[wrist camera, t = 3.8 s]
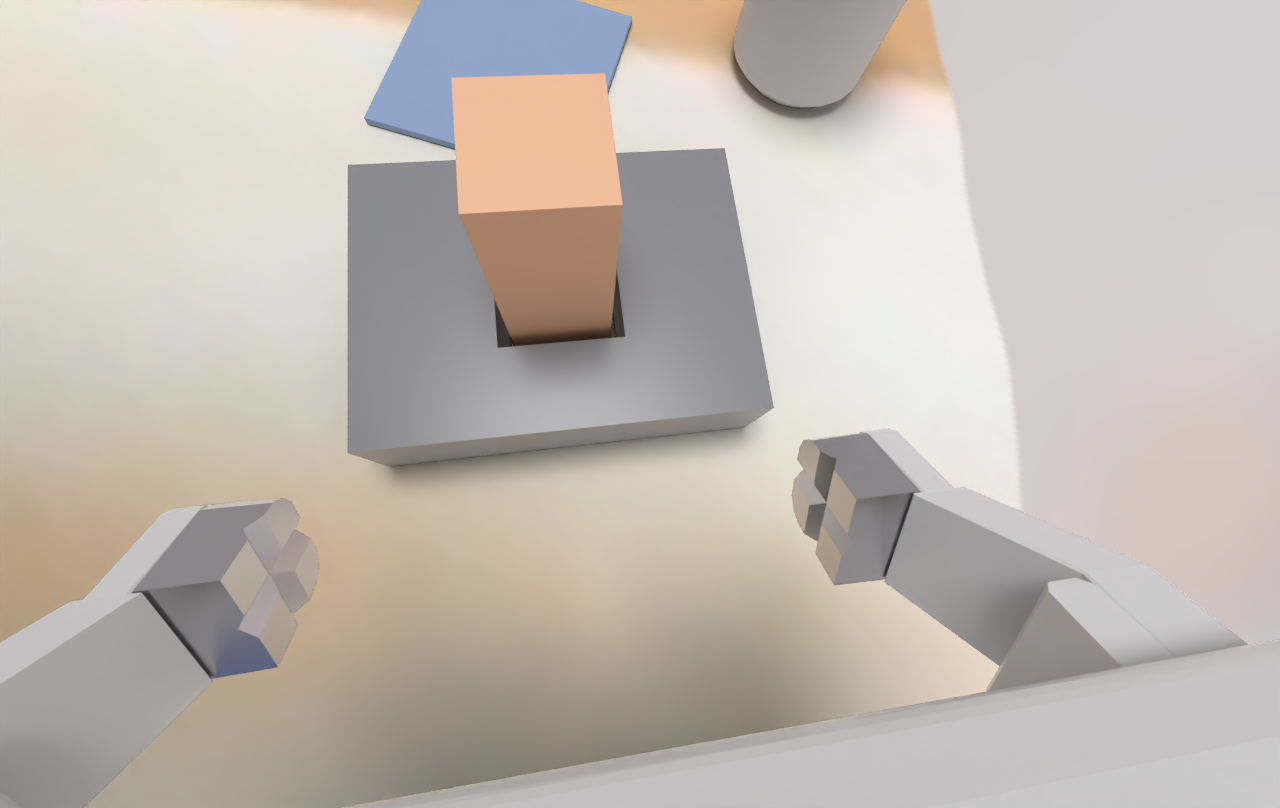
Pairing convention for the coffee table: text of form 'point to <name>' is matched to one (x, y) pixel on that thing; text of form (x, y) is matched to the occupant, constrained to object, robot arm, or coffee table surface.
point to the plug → (541, 200)
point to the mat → (489, 55)
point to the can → (810, 46)
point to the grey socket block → (554, 372)
